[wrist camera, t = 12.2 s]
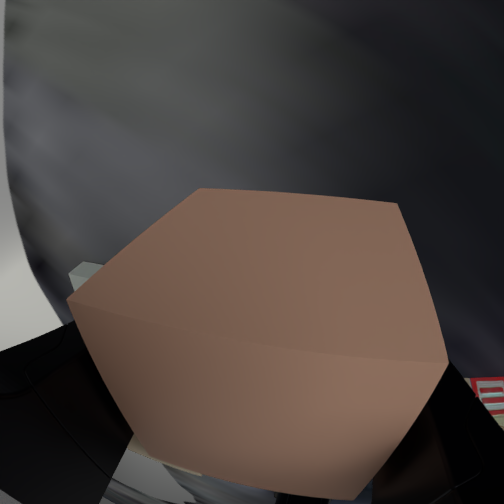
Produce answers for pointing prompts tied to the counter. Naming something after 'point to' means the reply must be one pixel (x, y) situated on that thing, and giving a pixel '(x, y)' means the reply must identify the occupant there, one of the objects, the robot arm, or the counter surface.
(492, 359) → the counter surface
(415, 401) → the brownish pink cube
